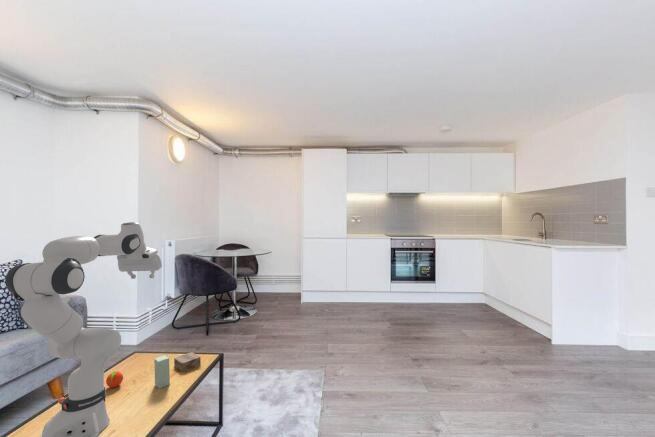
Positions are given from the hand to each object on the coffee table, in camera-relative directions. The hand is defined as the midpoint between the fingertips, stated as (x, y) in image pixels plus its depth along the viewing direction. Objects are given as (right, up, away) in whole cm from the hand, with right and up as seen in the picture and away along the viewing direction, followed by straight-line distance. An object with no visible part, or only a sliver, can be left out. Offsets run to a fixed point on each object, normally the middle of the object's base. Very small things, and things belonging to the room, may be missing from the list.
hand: (143, 278), depth 160 cm
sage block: (+13, -51, -6) cm, 53 cm away
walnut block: (+17, -51, +14) cm, 55 cm away
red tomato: (-10, -52, -7) cm, 53 cm away
